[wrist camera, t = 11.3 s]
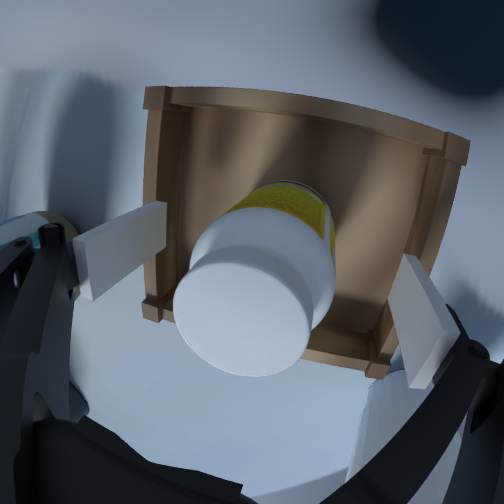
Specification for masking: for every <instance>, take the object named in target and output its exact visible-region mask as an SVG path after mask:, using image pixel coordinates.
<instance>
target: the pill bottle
mask: <svg viewBox="0 0 504 504" xmlns="http://www.w3.org/2000/svg"><path fill="white" fill-rule="evenodd" d="M335 284H336V253H335V230H334V221H333V217H332V214H331V211H330V208H329V206H328V205H327V203H326V201H325V200H324V199H323V198H322V197H321V195H320V194H319V193H317V192H316V191H315V190H314V189H312V188H311V187H309V186H307V185H305V184H303V183H300V182H296V181H290V180H279V181H273V182H270V183H267V184H265V185H262V186H260V187H259V188H257V189H256V190H254V191H253V192H251V193H250V194H249V195H247V196H246V197H245V198H244V199H242V200H241V201H240V202H238V203H237V204H236V205H234V206H233V207H232V208H230V209H229V210H228V211H227V212H225V213H224V214H223V215H221V216H220V217H219V218H217V219H216V220H215V221H214V222H213V223H211V224H210V225H209V226H208V227H207V229H206V230H205V231H204V232H203V233H202V235H201V236H200V237H199V239H198V241H197V243H196V245H195V247H194V249H193V252H192V255H191V260H190V267H189V271H188V272H187V274H186V275H185V276H184V277H183V278H182V280H181V281H180V282H179V284H178V286H177V289H176V291H175V294H174V299H173V313H174V319H175V322H176V325H177V327H178V330H179V332H180V334H181V335H182V337H183V338H184V340H185V341H186V343H187V344H188V345H189V346H190V348H191V349H192V350H193V351H194V352H195V353H196V354H198V355H199V356H200V357H201V358H203V359H204V360H205V361H207V362H208V363H210V364H212V365H213V366H215V367H217V368H219V369H221V370H223V371H226V372H229V373H232V374H236V375H241V376H251V377H261V376H268V375H272V374H276V373H279V372H281V371H283V370H285V369H287V368H289V367H290V366H292V365H293V364H294V363H295V362H296V361H298V359H299V358H300V357H301V356H302V354H303V353H304V351H305V349H306V347H307V345H308V342H309V339H310V334H311V330H312V329H313V328H315V327H316V326H317V325H318V324H319V323H320V321H321V320H322V319H323V318H324V316H325V315H326V313H327V311H328V310H329V307H330V305H331V303H332V300H333V296H334V292H335Z"/></svg>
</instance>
